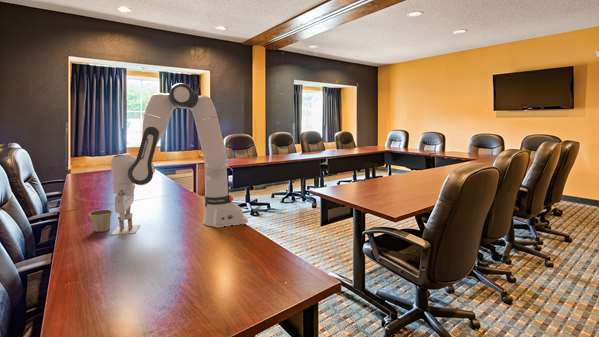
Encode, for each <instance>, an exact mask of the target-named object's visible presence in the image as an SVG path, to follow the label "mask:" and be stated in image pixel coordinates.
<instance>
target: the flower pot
mask: <svg viewBox="0 0 599 337" xmlns="http://www.w3.org/2000/svg"><path fill="white" fill-rule="evenodd" d="M112 213H113V210H111V209H99V210H95V211H91V212H89V213H88V215H89V216H90V218H91V221H92V225H93V230H94V232H96V233H99V232H101V233H102V232H107V231H109V230H110V229H111V216H112Z"/></svg>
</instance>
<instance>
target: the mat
mask: <svg viewBox="0 0 599 337" xmlns="http://www.w3.org/2000/svg"><path fill="white" fill-rule="evenodd" d="M140 227H141V224H132V228H131V230H130V231H129V230H128V225H124V229H122V231H120V226H117V227H115V229H114V230H113V231H112V233H111V234H110V235H111V236H118V235H132V234H136V233H137V231H138V230H139V228H140Z"/></svg>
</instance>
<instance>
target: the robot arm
mask: <svg viewBox="0 0 599 337" xmlns="http://www.w3.org/2000/svg"><path fill="white" fill-rule="evenodd" d="M175 109H176V110H177V109H178V110H185V109H189V110H190V111H191V113H192V116H193V119H194V120H193V121H194V124H195V128H196V132H197V135H198V139H199V144H200V150H201V153H202V157H203V158H202V159H203V163H204V164H203V165H204V187H205V189H204V191H205V192H204V193H205V195H204V202H203V203H204V207H205V208H204V218H203V221H202V224H203V225H205V226H209V227H214V228H217V229H218V228H224V226H226V227H232V226H231V225H233V226H239V225H240V224H241V225H245V224H248V222H249V219H248V217H247V216H246V215H245V214H244V212H243V209H242V207H241V206H239V205H238V204H236V203H234V202H233V200H234V197H233V196H232V195H231V194H229V192H228V190H229V189H228V184H229V183H228V170H227V169H228V167H227V166H228V165H227V164H228V159H229V158H228V154H227V149H226V145H225V141H224V138H223V134H222V130H221V127H220V121H219V118H218V114H217V109H216V107H215V105H214V102H213V100H212V99H211V98H210V97H209V96H206V95H198V94H197V93H196V91H195V90H194V89H193V88H192V87H191V86H190V85H189V84H186V83H184V82H183V83H181V82H180V83H179V82H178V83H175V84H174V85H172V87H170V89H169V93H164V92H163V93H161V92H157V93H153V94H151V97H150V99H149V100H148V103H147V105H146V108H145V111H144V114H143V120H142V132H141V133H142V135H141V142H140V146H139V149H138V152H137V156H134V155H132V154H131V153H128V152H126V153H120V154H116V155H114V156H113V157H112V158H111V161H110V163H111V164H110V170H111V176H112V181H111V185H112V186H111V187H112V193H113V194H115V197H114V211H115V213H116V214H118V216H119V215H120V218H121V220H124V221H125V219H126V216H125V214H128V213H131V207H132V204H134V199H135V188H136V185H137V186H144V185H147V184H148V183H150V182H151V181H152V179H153V177H154V174H155V170H156V168H155V165H154V164H153V159H154V154H155V153H156V152H155V151H156V147H157V146H158V143H159V141H160V140H161V138H162V137H164V134H165V133H166V132H167V129H168V127H169V124H170V121H171V116H172V113H173V111H174V110H175ZM126 220H127V219H126ZM241 225H240V226H241Z"/></svg>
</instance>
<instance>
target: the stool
mask: <svg viewBox="0 0 599 337" xmlns="http://www.w3.org/2000/svg"><path fill="white" fill-rule="evenodd" d="M125 216H126V219H125V220H127V226H128V230H129V231H130V230H131V228H132V225H133V213H131V212H130V213H128V214H126V213H125ZM125 220H121V218H120V215H119V214H118V216H117V221H118V223H119V224H118V225H119V226H120V231H122V229H124V226H125V223H124V222H125Z"/></svg>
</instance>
